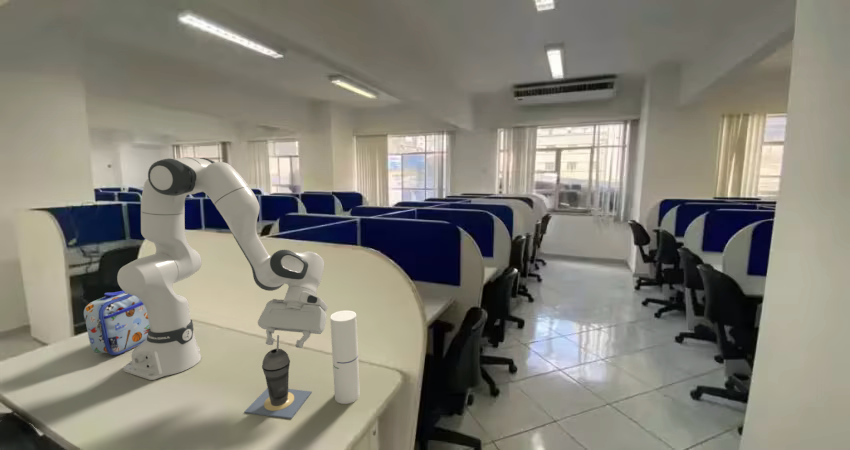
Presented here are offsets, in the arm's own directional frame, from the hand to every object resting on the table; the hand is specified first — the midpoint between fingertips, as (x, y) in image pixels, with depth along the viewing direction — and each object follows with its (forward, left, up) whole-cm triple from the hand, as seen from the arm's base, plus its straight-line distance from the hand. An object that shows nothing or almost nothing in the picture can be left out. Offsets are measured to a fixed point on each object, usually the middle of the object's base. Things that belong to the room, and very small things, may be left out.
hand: (283, 345), depth 102 cm
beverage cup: (0, -4, -15) cm, 15 cm away
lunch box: (-74, +18, -15) cm, 78 cm away
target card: (0, -4, -15) cm, 16 cm away
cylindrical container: (+18, +2, -15) cm, 24 cm away
